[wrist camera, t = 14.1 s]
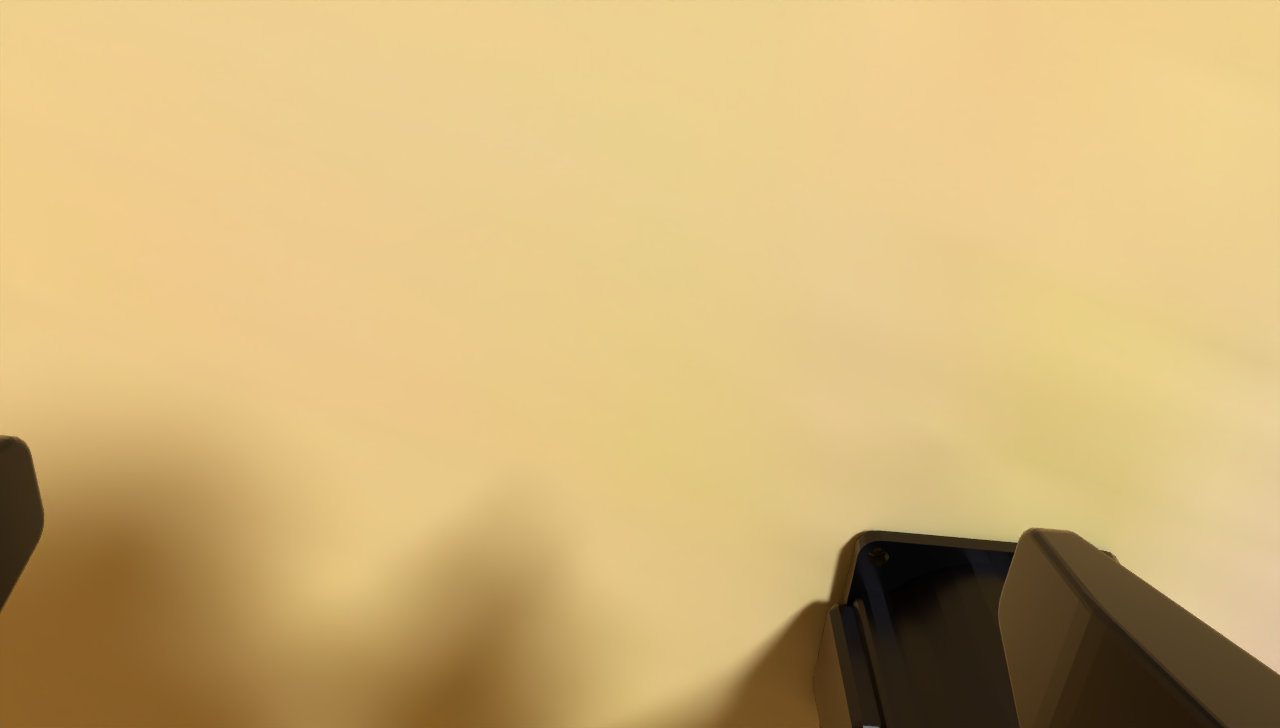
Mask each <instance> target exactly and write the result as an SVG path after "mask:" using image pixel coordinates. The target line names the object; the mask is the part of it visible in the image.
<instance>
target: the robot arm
mask: <svg viewBox="0 0 1280 728" xmlns="http://www.w3.org/2000/svg"><path fill="white" fill-rule="evenodd" d="M43 526H44V509H43V505H42V500H41V496H40V491H39V487H38V482H37V478H36V473H35V469H34V464H33V460H32V455H31V452H30V449H29V447H28V446H27V444H26V443H25V442H24V441H23V440H21V439H20V438H18V437H15V436H4V435H0V613H1V611H2V609H3V607H4V605H5V603H6V602H7V600H8V598H9V596H10V594H11V592H12V590H13V589H14V587H15V585H16V583H17V581H18V579H19V577H20V575H21V574H22V572H23V570H24V568H25V566H26V564H27V562H28V561H29V559H30V557H31V555H32V553H33V551H34V549H35V548H36V546H37V544H38V542H39V540H40V537H41V534H42V531H43ZM874 549H883V550H884V552H883V553H881V554H879V555H874V556H873V555H870V554H869V553H870V552H871V551H873V550H874ZM813 687H814V693H815V699H816V705H817V711H818V718H819V724H820V728H1280V675H1279V674H1278V673H1276V672H1275V671H1273V670H1272V669H1271V668H1269V667H1268V666H1266V665H1265V664H1263V663H1262V662H1260V661H1259V660H1258V659H1256V658H1255V657H1253V656H1252V655H1250V654H1249V653H1247V652H1246V651H1245V650H1243V649H1242V648H1240V647H1239V646H1237V645H1236V644H1234V643H1233V642H1232V641H1230V640H1229V639H1227V638H1226V637H1224V636H1223V635H1221V634H1220V633H1219V632H1217V631H1216V630H1214V629H1213V628H1211V627H1210V626H1208V625H1207V624H1206V623H1204V622H1203V621H1201V620H1200V619H1198V618H1197V617H1196V616H1194V615H1193V614H1191V613H1190V612H1188V611H1187V610H1185V609H1184V608H1183V607H1181V606H1180V605H1178V604H1177V603H1175V602H1174V601H1172V600H1171V599H1170V598H1168V597H1167V596H1165V595H1164V594H1162V593H1161V592H1159V591H1158V590H1157V589H1155V588H1154V587H1152V586H1151V585H1149V584H1148V583H1147V582H1145V581H1144V580H1142V579H1141V578H1139V577H1138V576H1136V575H1135V574H1134V573H1132V572H1131V571H1129V570H1128V569H1126V568H1125V567H1123V566H1122V565H1121V564H1120V563H1119V561H1118V560H1117V558H1116V557H1115V556H1114V555H1113V554H1112V553H1110V552H1107V551H1102V550H1099V549H1098V548H1096V547H1095V546H1093V545H1092V544H1090V543H1089V542H1087V541H1086V540H1085V539H1083V538H1082V537H1080V536H1079V535H1077V534H1076V533H1074V532H1071V531H1067V530H1055V529H1043V528H1030V529H1028V530H1026V531H1025V532H1024V533H1023V534H1022V535H1021V537H1020V539H1019V541H1018V543H1013V542H1001V541H990V540H979V539H968V538H957V537H945V536H934V535H923V534H912V533H901V532H889V531H870V532H868V533H865V534H863V535H862V536H861V537H860V538H859V539H858V540H857V542H856V544H855V547H854V552H853V556H852V561H851V565H850V570H849V574H848V578H847V583H846V587H845V592H844V596H843V600H842V604H840V603H837V604H835V605H834V606H833V607H832V608H831V609H830V610H829V611H828V613H827V618H826V622H825V627H824V631H823V636H822V640H821V645H820V650H819V654H818V659H817V663H816V668H815V672H814V677H813Z"/></svg>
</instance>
